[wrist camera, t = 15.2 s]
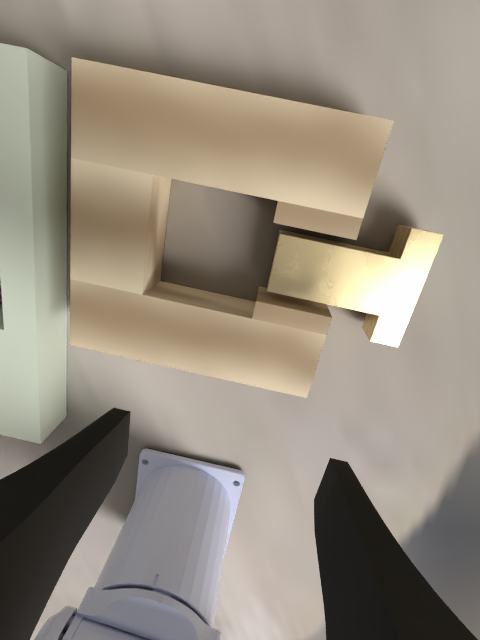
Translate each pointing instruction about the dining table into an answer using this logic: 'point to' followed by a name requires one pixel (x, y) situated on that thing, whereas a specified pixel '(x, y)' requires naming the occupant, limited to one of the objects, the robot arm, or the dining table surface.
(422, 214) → the dining table surface
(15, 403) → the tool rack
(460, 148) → the dining table surface
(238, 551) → the dining table surface
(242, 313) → the socket block
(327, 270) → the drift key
